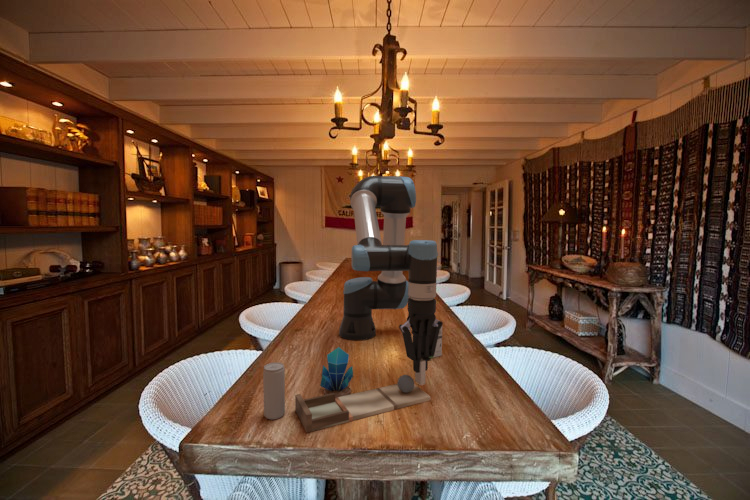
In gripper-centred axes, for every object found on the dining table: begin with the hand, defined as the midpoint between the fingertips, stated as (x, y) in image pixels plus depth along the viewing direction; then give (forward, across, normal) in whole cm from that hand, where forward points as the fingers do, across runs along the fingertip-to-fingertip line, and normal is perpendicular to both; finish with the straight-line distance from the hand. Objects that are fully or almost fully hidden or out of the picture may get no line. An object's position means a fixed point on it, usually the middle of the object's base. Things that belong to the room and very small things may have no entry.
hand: (420, 382), depth 95 cm
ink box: (+3, +18, +21) cm, 28 cm away
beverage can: (+3, -38, +6) cm, 38 cm away
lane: (+3, -16, 0) cm, 17 cm away
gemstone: (+3, -21, +9) cm, 23 cm away
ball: (-1, -4, 0) cm, 5 cm away
